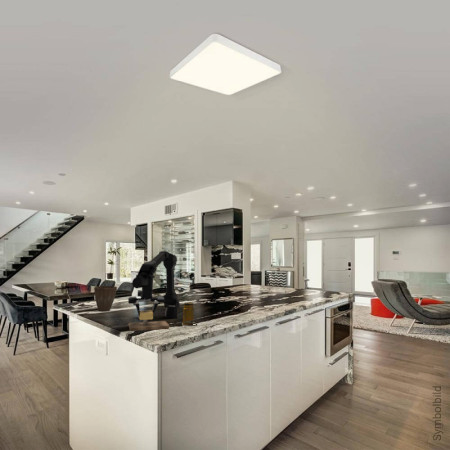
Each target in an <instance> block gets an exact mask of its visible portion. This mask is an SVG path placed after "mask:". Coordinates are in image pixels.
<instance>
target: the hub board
mask: <svg viewBox="0 0 450 450" xmlns="http://www.w3.org/2000/svg"><path fill="white" fill-rule="evenodd" d="M143 311H144V313H146V312H148V311H149V310H143ZM128 328H129V332H133V331H134V332H135V331H136V332H137V331H149V330H167V329H170V325H169V323H168V322H167V321H166V320H161V321H148V320H142V322H140V321H139V322H129V323H128Z"/></svg>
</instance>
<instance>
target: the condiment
mask: <svg viewBox="0 0 450 450" xmlns="http://www.w3.org/2000/svg"><path fill="white" fill-rule="evenodd" d="M182 310H183V311H182V312H183V313H182V323H181V326H183V327H184V326H189V327H190V326H193V327H194V326H195V325H193V323H194V314H195V308H194V303H193V302H184V304H183V308H182Z"/></svg>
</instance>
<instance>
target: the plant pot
mask: <svg viewBox="0 0 450 450" xmlns="http://www.w3.org/2000/svg"><path fill="white" fill-rule="evenodd" d="M117 289H118V287H117V286H114V285H113V286H112V285H106V286H105V285H99V286H94V287H93V291H94V300H95V303H96V304H95V305H96V306H97V310H98V311H99V312H109V311H111V308H112V306H113V305H114V301H115V298H116V293H117Z"/></svg>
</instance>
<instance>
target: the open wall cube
mask: <svg viewBox="0 0 450 450" xmlns="http://www.w3.org/2000/svg"><path fill="white" fill-rule="evenodd" d="M144 311H145V310H140V317H139V316H138V319H139V321H143V320H153V318H154V314H153V312H152V310H147V311H148V312H146V313H144Z"/></svg>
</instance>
